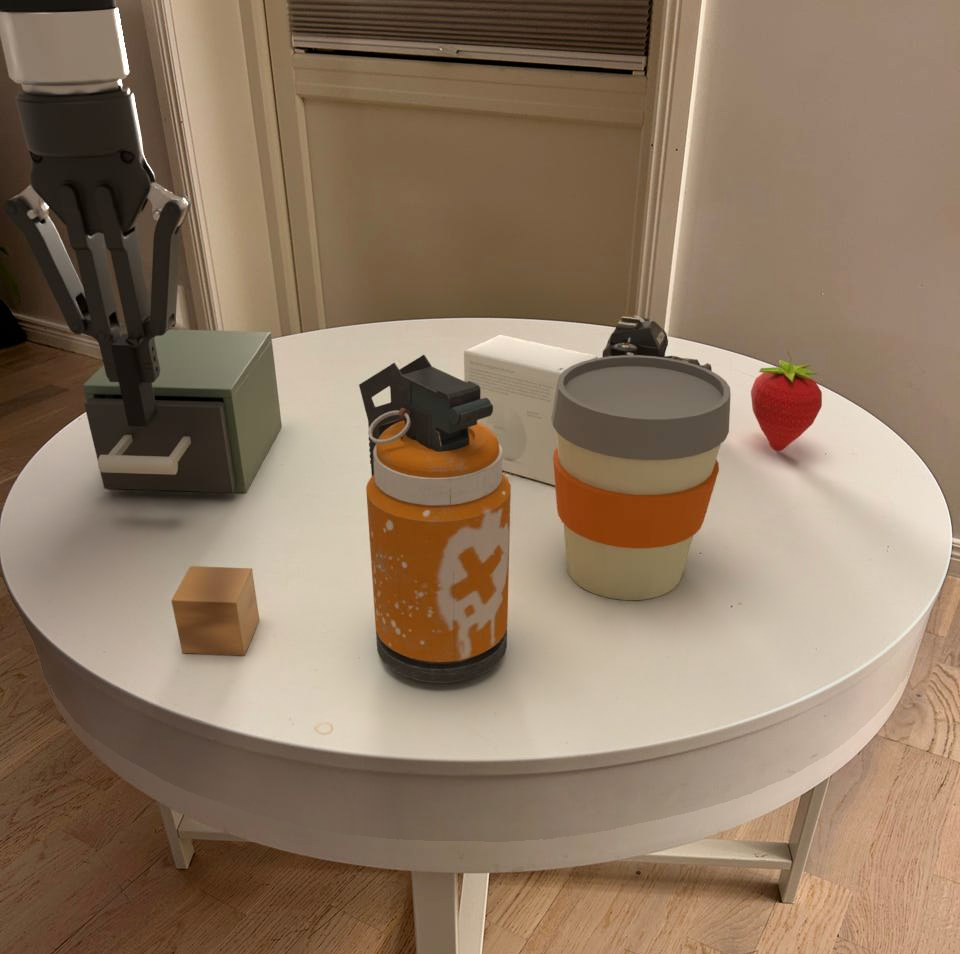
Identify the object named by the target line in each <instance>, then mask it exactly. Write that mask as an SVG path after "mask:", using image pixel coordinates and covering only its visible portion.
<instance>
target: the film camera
mask: <svg viewBox="0 0 960 954" xmlns="http://www.w3.org/2000/svg"><path fill="white" fill-rule="evenodd" d="M668 345H669V339H668V334H667V332H666V330H665V329H663V328H662V327H661V326H660V325H659V324H658V323H657V322H656V321H655V320H650V318H647V317H645V316H641V315H632V316H621V317H620V320H619V321H618V322H617V324H616V325H615V329H614V331H613V332H612V333H611V334H610V336H609V338H608V339H607V342H606V345H605V347H604V349H603V350H602V357H608V356H621V355H641V356H655V357H663V358H670V359H675V360H680V361H685V362H688V363H692V364H695V365H698V366H701V367H703V368H706V369H708V370H710V371H712V364H710V363H709V362H707V363H705V364H700V361H699V360H698V359H697V358H696V359H695V358H688V357H680V356H677V355H666V351H667V349H668ZM712 372H713V371H712Z"/></svg>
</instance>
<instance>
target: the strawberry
mask: <svg viewBox="0 0 960 954" xmlns="http://www.w3.org/2000/svg"><path fill="white" fill-rule="evenodd" d="M785 351H786V353H787V355H788V357H789V363H788V362H787V361H785V360H782V359H779V361H778V363H779V366H775V367H774V366H773V367H761V368H760V370H758V373H760V375H758V376H756V378H755V380H754V382H753V384H752V386H751V390H750V399H751V407H752V412H753V414H754V416H755V419H756V421H757V424H758V425H759V428H760V430H761V431H762V433H763V434H764V436H765V438H766V439H767V441H768V444H769V446H770V447H771V449H772V450H774V451H776V452H781V451H783V450H785V449H786V448H787V447H788V446H789V445H790V444H791V443H794V441H796V440H797V439H799V438H800V437H801V436H802V435H803V434H804V433H805V432H806V431H807V430H808V429H809V428H810V427H811V426H812V425H813V424H814V422H815V420H816V418H817V416H818V415H819V412H820V411H821V409H822V407H823V393H822V390H821V389H820V387H819V385H818V384H817V382H816V381H815V380H814V379H813V378H812V377H810V376H809V375H818V374H819V373H818V372H815V371H812V370H809V369H807V368H809V367H811V364H799V365H797V364H791V363H792V356H791V354H790V353H789V352H790V351H789V350H788V348H785Z"/></svg>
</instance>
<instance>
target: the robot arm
mask: <svg viewBox="0 0 960 954" xmlns="http://www.w3.org/2000/svg"><path fill="white" fill-rule="evenodd" d="M0 41H1V46H2V50H3V55H4V59H5V65H6V69H7V73H8V77H9V79H11V80H12V81H13V82H14V83H15V84H20V85H21V88H22V89H20V90H18V91H17V93H16V94H17V95H16V96H15V97H14V100H15V104H16V109H17V112H18V116H19V120H20V125H21V129H22V133H23V137H24V142H25V146H26V148H27V151H28V152H29V155H30V158H31V159H30V160H31V163H30V169H29V173H28V179H29V185H28V186H27V187H25V189H23V191H21V192H20V193H19V194H16V195H15V196H13V197H11V198H9V199H7V200H5V201H4V203H3V211H4V212H5V214H6V215H7V217H8V218H9V219H10V220H11V221H12V223H14V224H15V226H16V227H17V228H18V229H19V230H20V232H22V234H23V235H24V237H25V239H26V241H27V243H28V245H29V247H30V249H31V251H32V253H33V256H34V257H35V260H36V261H37V264H38V267H39V268H40V270H41V272H42V275H43V276H44V278H45V281H46V282H47V285H48V287H49V289H50V291H51V293H52V295H53V297H54V299H55V301H56V304H57V306H58V307H59V309H60V312H61V314H62V316H63V318H64V321H65V322H66V324H67V327H68V329H69V330H70V332H71V333H73V334H75V335H79V336H80V335H82V334H83V335H86V336H88V337H91V338H93V339H94V340H95V341H96V342H97V343H98V346H99V349H100V354H101V358H102V363H103V365H104V368H105V372H106V376H107V378H108V379H109V381H110V382H119V385H120V390H121V394H122V399H123V404H124V408H125V413H126V417H127V422H128V426H142V427H147V426H148V425H149V423H150V422H151V421H152V420H153V418H154V417H155V416H156V415H157V413H158V412H157V407H156V402H155V397H154V392H153V387H152V383H153V382H154V381H155V380H156V379H157V378H158V377H159V374H160V366H159V360H158V355H157V350H156V345H155V339H154V338H155V337H156V336H162V335H164V334H165V333H166V332H167V331H168V330H169V329H171V328H172V327H173V325H174V324H175V323H176V319H177V308H178V307H177V304H178V291H179V290H178V289H179V273H180V272H179V269H180V257H181V255H180V254H181V253H180V252H181V239H182V238H181V236H182V228H183V225H184V223H185V221H186V218H187V216H188V214H189V212H190V210H191V207H192V202H191V200H190V198H189V197H188V196H187V195H186V194H183V193H179V194H174V193H173V192H171V191H170V190H168V189H167V188H165V187H163V186H162V185H161V184H159V183H157V181H156V176H155V173H154V171H153V169H152V168H151V166H150V165H149V164H148V161H147V159H146V158H145V154H144V148H143V140H142V139H143V138H142V134H141V128H140V123H139V117H138V112H137V107H136V101H135V95H134V92H133V91H131V90H130V87H129V86H127V85H123V83H122V80H124V79H126V78H127V77H128V76H129V73H130V69H129V63H128V58H127V52H126V47H125V42H124V36H123V29H122V25H121V18H120V13H119V8H118V6H117V0H0ZM148 202H150V205H151V209H150V214H151V217H152V219H153V220H154V221H155V222H156V224H155V227H154V232H153V242H152V243H153V245H152V264H151V265H152V269H151V291H150V292H151V293H150V298H149V293H148V288H147V282H146V277H145V272H144V267H143V262H142V257H141V253H140V252H141V251H140V245H139V239H140V233H139V228H138V222H139V220H140V218H141V217H142V214H143V212H144V210H145V208H146V206H147V204H148ZM50 210H51V211H52V212H53V213H54V214H55V215H56V216H57V217H58V219H59V220H60V221H61V222H62V223H63V225H65V227H66V231H67V235H68V239H69V244H70V247H71V249H73V250H74V253H75V256H76V261H77V265H78V270H79V275H80V277H79V276H78V273H77V271H76V269H75V267H74V265H73V262H72V261H71V258H70V256H69V254H68V251H67V249H66V247H65V245H64V243H63V240H62V239H61V236H60V234H59V231H58V229H57V228H56V226H55V224H54V222H53V220H52V219H51V217H50V216H49V215H50ZM106 249H107V250H108V251H109V254H110V258H111V262H112V267H113V271H114V275H115V281H116V285H117V286H116V287H117V290H118V295H119V298H120V299H119V300H120V304H121V308H122V313H123V318H124V322H123V321H122V322H121V318H120V314H119V308H118V304H117V299H116V295H115V289H114V285H113V280H112V275H111V271H110V265H109V261H108V256H107V252H106ZM80 278H81V279H80ZM124 327H126V332H127V333H125V332H124V333H122V334H121V331H122V330H123V329H124Z"/></svg>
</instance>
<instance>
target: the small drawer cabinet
mask: <svg viewBox="0 0 960 954" xmlns="http://www.w3.org/2000/svg"><path fill="white" fill-rule="evenodd" d="M154 339H155V345H156V350H157V355H158V360H159V366H160V374H159V377H158V378H157V379H156V380H155V381H154V382H153V383H152V387H153V392H154V396H178V397H214V398H223V401H224V408H225V414H226V421H227V428H228V434H229V441H230V447H231V454H232V461H233V467H234V474H235V481H236V488H235V489H234V491H233V492H232V493H236V494H237V493H239V494H246V493H247V492H248V490H249V489H250V487H251V484H252V482H253V480H254V479H255V477H256V475H257V473H258V471H259V469H260V468H261V465H262V464H263V462H264V460H265V458H266V456H267V455H268V453H269V451H270V449H271V447H272V446H273V444H274V442H275V440H276V439H277V436H278V435H279V432H280V431H281V428H282V427H283V425H282V424H283V423H282V415H281V406H280V399H279V398H280V397H279V390H278V382H277V372H276V364H275V356H274V347H273V340H272V333H271V331H256V330H255V331H254V330H252V331H251V330H218V329H217V330H216V329H215V330H213V329H179V328H178V329H177V328H176V329H174V328H172V329H171V328H169V330H168V331H167V332H166V333H165V334H164V335H162V336H156V337H155V338H154ZM82 388H83V393H84V399H85V402H86V401H87V400H88V399H89V398H98V399H105V396H104V394H106V395H122V394H121V390H120V385H119V382H110V381H109V379H108V378H107V376H106V372H105V368H104V364H103V365H102V366H100V367H99V369H98V370H97V371H95V372H94V373H93V375H92V376H90V378H88V380H87V381H85V382H84V384H82ZM107 489H111V488H107ZM139 490H142V489H138V491H139ZM170 491H172V492H173V490H170ZM201 492H204V491H201ZM204 493H205V492H204Z"/></svg>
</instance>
